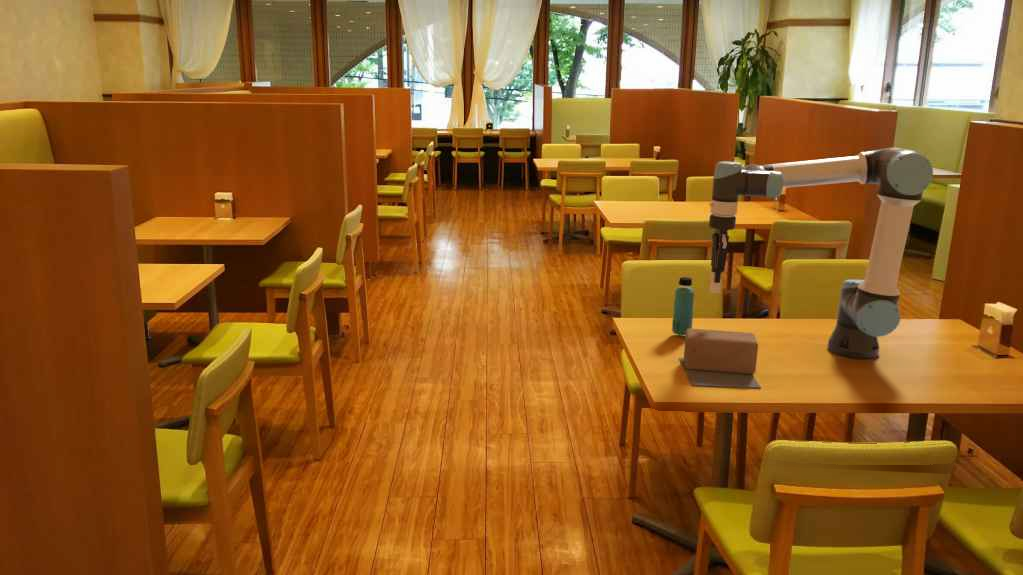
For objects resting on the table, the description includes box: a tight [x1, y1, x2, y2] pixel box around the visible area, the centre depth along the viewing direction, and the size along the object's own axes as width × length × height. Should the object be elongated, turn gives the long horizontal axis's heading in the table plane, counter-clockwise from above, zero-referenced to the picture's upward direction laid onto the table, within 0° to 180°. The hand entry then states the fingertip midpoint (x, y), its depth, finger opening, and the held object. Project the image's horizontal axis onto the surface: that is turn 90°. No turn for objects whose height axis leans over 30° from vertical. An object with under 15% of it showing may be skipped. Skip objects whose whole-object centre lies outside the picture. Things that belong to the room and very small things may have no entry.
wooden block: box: [683, 327, 759, 375], centre depth 240 cm, size 10×10×20 cm
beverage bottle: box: [671, 276, 696, 336], centre depth 267 cm, size 6×7×20 cm
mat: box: [678, 357, 762, 390], centre depth 238 cm, size 19×22×1 cm
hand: (714, 292), depth 247 cm, fingers closed
